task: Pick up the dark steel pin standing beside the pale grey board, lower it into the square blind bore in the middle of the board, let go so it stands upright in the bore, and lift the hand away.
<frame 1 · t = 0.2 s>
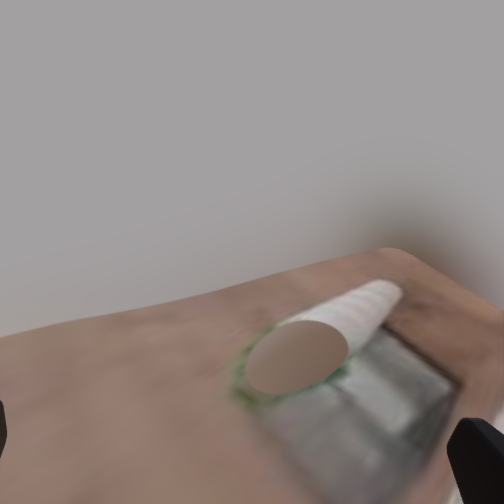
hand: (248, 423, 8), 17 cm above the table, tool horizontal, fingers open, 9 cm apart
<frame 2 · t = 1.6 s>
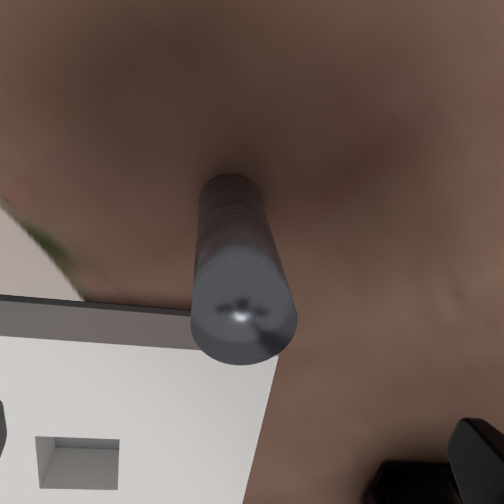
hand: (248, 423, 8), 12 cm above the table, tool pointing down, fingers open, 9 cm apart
steel pin: (230, 204, 19), on the table
bore board: (93, 417, 24), on the table
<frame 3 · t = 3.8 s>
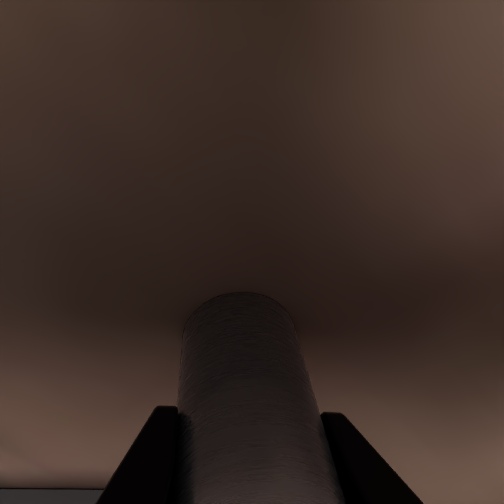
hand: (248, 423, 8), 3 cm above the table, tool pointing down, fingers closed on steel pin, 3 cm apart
steel pin: (239, 339, 10), on the table, touching gripper
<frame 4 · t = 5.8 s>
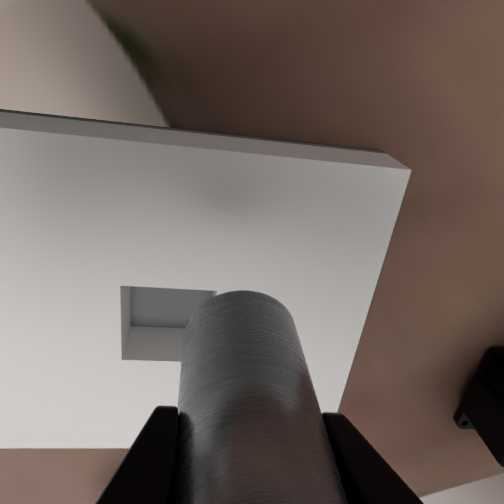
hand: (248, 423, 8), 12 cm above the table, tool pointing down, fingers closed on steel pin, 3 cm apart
steel pin: (240, 337, 10), point 10 cm above the table, touching gripper
bore board: (172, 289, 21), on the table
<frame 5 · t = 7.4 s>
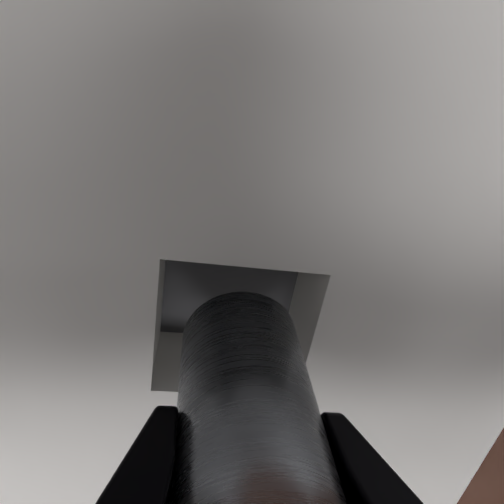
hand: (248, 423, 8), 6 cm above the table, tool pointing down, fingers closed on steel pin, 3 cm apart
steel pin: (239, 338, 10), point 3 cm above the table, touching gripper
bore board: (230, 275, 13), on the table
when the fingers open (4 cm above the table, at t = 8.3 s): steel pin drops 1 cm, resting on bore board.
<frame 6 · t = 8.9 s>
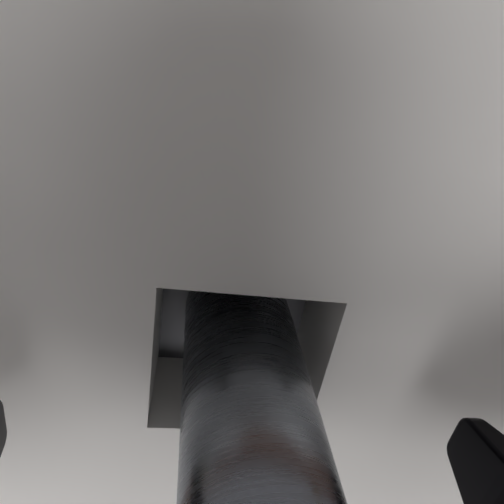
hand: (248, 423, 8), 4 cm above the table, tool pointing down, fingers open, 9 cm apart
steel pin: (236, 306, 12), point 1 cm above the table, touching bore board
bore board: (233, 296, 12), on the table
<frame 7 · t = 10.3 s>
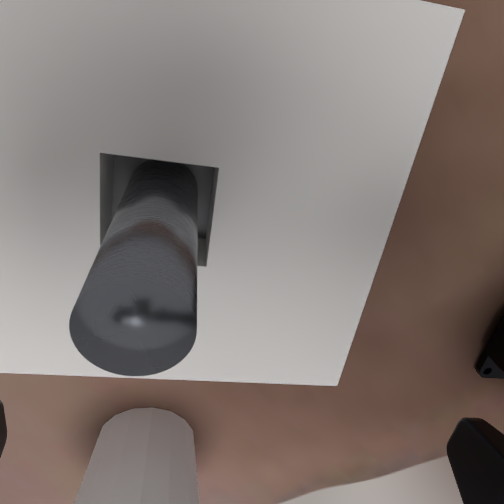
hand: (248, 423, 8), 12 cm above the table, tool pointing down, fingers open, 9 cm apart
steel pin: (163, 190, 17), point 1 cm above the table, touching bore board
shot glass: (147, 437, 25), on the table
bore board: (164, 187, 18), on the table
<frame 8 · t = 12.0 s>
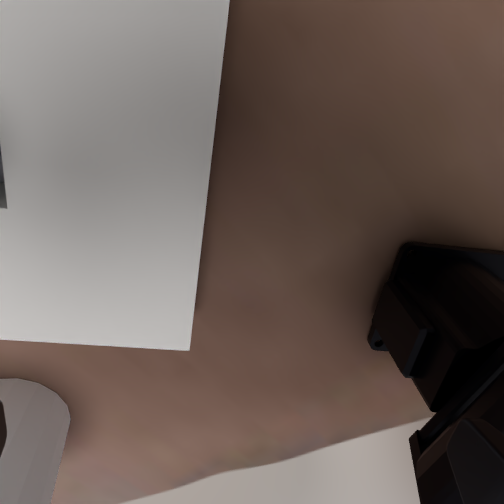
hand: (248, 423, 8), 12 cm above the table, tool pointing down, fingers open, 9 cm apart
shot glass: (19, 412, 24), on the table
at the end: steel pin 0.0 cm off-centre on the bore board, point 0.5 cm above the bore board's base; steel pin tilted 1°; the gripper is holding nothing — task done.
